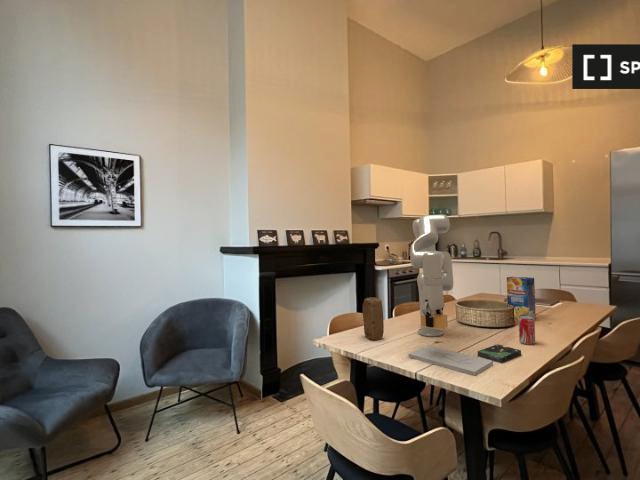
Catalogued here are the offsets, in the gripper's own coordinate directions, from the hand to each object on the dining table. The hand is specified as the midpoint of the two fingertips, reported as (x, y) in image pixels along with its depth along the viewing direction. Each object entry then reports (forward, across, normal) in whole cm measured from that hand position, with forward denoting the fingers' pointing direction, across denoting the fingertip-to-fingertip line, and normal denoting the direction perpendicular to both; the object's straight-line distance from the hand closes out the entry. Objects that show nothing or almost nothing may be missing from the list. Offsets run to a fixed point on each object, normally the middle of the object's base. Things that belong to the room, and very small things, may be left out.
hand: (434, 324), depth 141 cm
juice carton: (+13, -90, +2) cm, 91 cm away
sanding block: (+1, 0, 0) cm, 1 cm away
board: (+13, 0, +6) cm, 15 cm away
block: (+14, -4, -37) cm, 40 cm away
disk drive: (+14, -19, +18) cm, 30 cm away
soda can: (+14, -44, +20) cm, 50 cm away
